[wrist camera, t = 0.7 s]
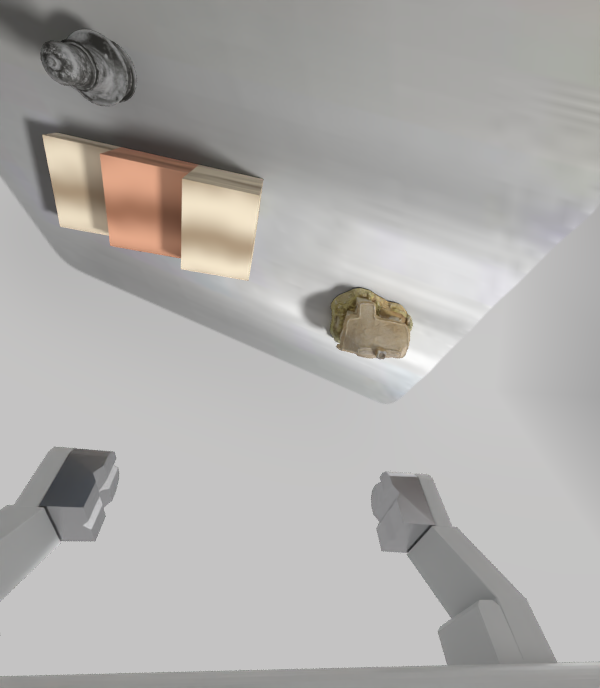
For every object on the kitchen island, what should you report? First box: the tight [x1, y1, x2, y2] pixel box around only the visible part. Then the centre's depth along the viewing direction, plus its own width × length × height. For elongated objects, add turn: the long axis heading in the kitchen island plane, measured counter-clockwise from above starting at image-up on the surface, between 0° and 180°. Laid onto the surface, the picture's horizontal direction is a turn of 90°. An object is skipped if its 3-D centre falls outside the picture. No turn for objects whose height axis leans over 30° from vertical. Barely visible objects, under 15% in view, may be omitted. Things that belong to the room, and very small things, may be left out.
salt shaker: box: [41, 29, 137, 106], centre depth 31 cm, size 6×6×12 cm
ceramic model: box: [330, 288, 413, 359], centre depth 52 cm, size 14×11×10 cm
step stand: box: [42, 133, 263, 281], centre depth 40 cm, size 10×24×9 cm, turn 78°
